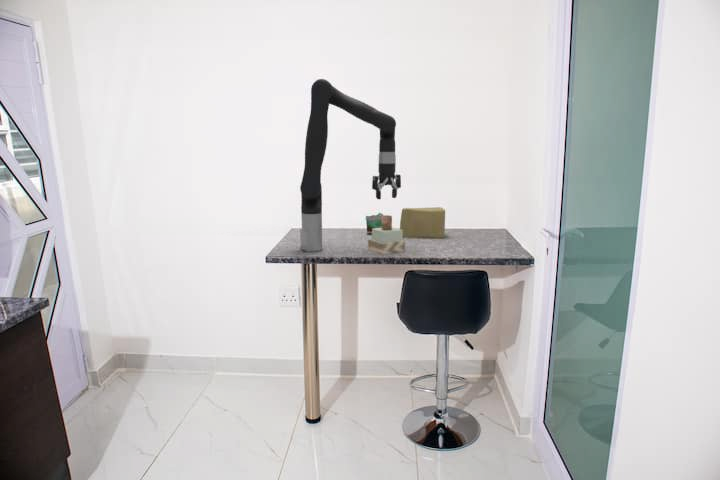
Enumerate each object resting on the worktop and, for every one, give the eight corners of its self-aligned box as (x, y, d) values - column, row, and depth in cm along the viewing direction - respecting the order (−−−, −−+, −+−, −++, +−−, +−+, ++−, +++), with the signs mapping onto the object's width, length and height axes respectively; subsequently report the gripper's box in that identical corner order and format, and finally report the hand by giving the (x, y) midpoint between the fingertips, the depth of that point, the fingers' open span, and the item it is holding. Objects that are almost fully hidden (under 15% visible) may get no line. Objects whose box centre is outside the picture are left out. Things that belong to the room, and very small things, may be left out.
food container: (375, 236, 261) (375, 217, 259) (365, 234, 265) (365, 215, 263) (388, 232, 271) (388, 213, 268) (379, 230, 274) (379, 212, 272)
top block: (384, 243, 225) (384, 232, 224) (372, 239, 234) (372, 228, 232) (402, 240, 230) (402, 230, 229) (390, 236, 238) (390, 226, 237)
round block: (385, 230, 228) (385, 217, 227) (379, 228, 232) (379, 216, 230) (393, 229, 231) (393, 216, 229) (387, 227, 234) (387, 214, 233)
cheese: (401, 239, 254) (401, 209, 251) (398, 235, 264) (399, 206, 260) (444, 238, 256) (446, 209, 252) (440, 234, 265) (441, 206, 262)
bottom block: (383, 255, 224) (383, 244, 223) (368, 250, 234) (368, 239, 233) (404, 251, 231) (405, 241, 230) (389, 246, 241) (389, 236, 240)
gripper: (378, 163, 218) (378, 200, 221) (405, 162, 225) (404, 198, 229) (369, 162, 224) (368, 198, 227) (394, 161, 231) (394, 196, 235)
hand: (386, 198), depth 228 cm, fingers open, 8 cm apart
